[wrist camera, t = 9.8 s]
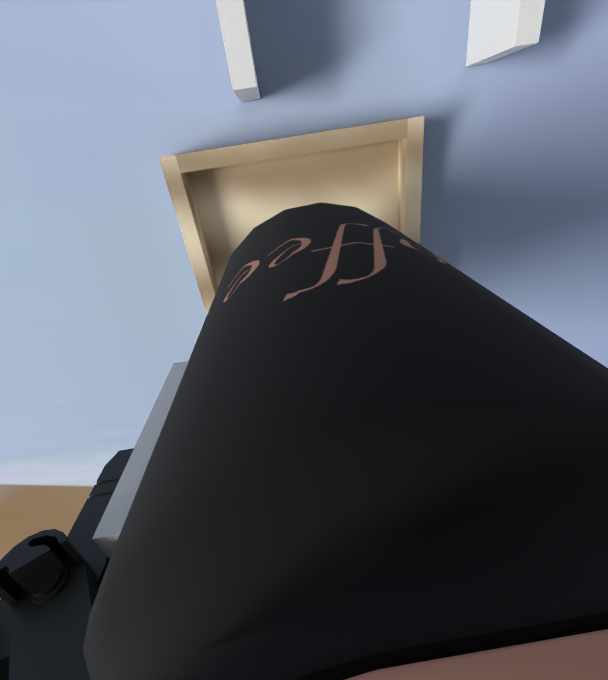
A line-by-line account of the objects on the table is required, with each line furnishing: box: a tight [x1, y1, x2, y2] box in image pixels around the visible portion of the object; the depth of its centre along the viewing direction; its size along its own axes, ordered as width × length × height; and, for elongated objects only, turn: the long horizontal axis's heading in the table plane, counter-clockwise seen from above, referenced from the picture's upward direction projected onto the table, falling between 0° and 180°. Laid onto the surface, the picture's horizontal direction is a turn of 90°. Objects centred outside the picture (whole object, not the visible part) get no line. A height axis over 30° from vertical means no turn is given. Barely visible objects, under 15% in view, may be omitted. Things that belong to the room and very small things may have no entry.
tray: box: [159, 116, 424, 314], centre depth 25 cm, size 16×16×2 cm
